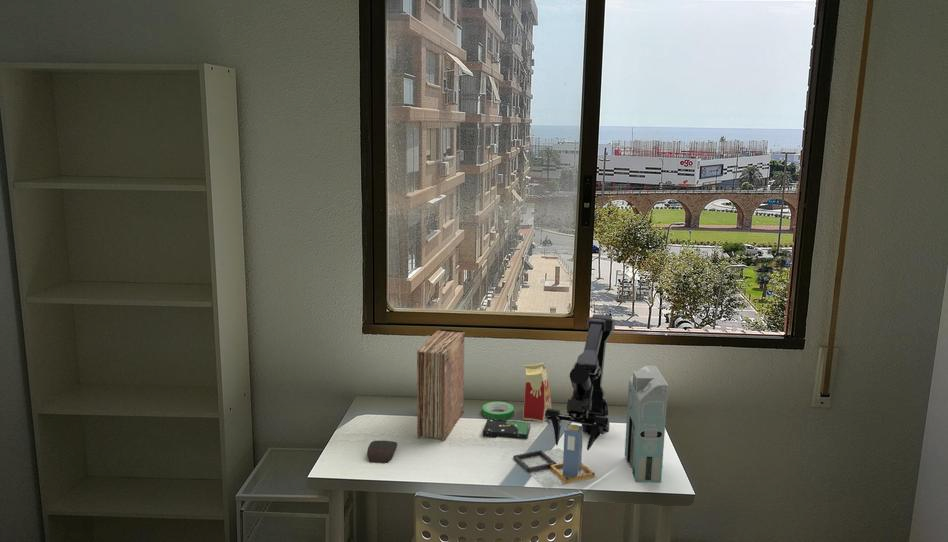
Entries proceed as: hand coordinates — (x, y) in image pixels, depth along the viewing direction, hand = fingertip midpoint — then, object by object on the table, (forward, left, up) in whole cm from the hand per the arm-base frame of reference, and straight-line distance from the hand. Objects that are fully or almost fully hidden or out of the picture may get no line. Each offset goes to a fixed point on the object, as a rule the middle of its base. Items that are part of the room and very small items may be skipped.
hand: (572, 447), depth 228 cm
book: (+21, -49, -9) cm, 54 cm away
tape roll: (-1, -50, -10) cm, 51 cm away
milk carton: (-12, -43, -9) cm, 46 cm away
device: (-22, +5, -9) cm, 24 cm away
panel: (+3, -6, -9) cm, 11 cm away
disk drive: (+3, -35, -10) cm, 36 cm away
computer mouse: (+46, -36, -10) cm, 59 cm away
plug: (-1, -1, -9) cm, 9 cm away
